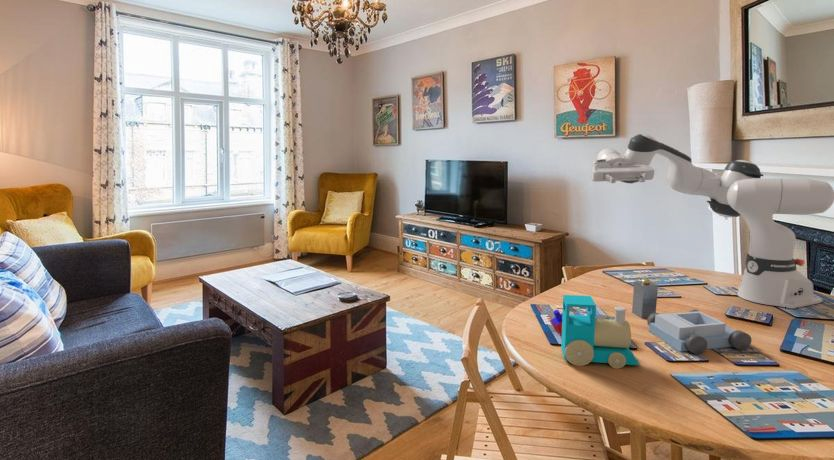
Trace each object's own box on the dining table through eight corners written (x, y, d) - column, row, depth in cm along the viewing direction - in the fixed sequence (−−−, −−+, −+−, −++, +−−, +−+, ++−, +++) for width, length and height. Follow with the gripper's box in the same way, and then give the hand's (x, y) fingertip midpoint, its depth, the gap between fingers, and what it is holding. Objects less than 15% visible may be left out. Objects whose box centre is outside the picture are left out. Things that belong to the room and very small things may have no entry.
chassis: (702, 323, 123) (704, 305, 121) (753, 349, 107) (755, 328, 106) (644, 328, 120) (645, 309, 119) (686, 355, 105) (688, 334, 104)
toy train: (640, 370, 98) (645, 308, 96) (564, 365, 102) (567, 305, 99) (631, 354, 106) (635, 296, 103) (560, 350, 109) (562, 293, 107)
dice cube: (594, 338, 115) (595, 320, 114) (598, 331, 120) (599, 314, 119) (615, 342, 113) (616, 324, 112) (617, 335, 117) (618, 317, 116)
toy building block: (557, 335, 121) (546, 312, 119) (570, 327, 122) (559, 304, 120) (563, 340, 118) (552, 317, 116) (576, 332, 118) (565, 309, 116)
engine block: (645, 311, 132) (648, 277, 130) (655, 317, 128) (658, 281, 126) (632, 312, 132) (634, 278, 130) (641, 318, 127) (643, 282, 125)
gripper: (645, 175, 158) (659, 188, 146) (587, 177, 162) (596, 190, 149) (648, 158, 156) (662, 170, 143) (588, 161, 159) (597, 172, 147)
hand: (628, 180), depth 146 cm, fingers open, 8 cm apart
